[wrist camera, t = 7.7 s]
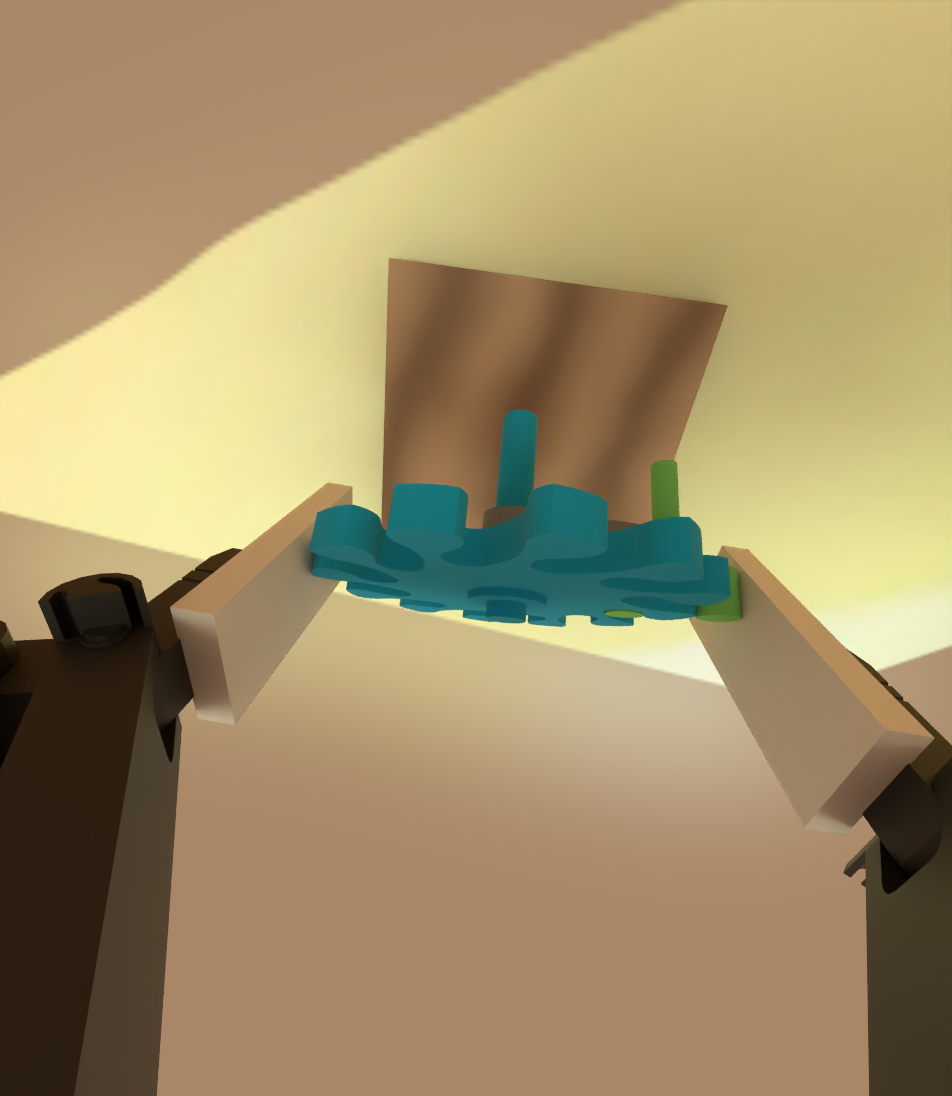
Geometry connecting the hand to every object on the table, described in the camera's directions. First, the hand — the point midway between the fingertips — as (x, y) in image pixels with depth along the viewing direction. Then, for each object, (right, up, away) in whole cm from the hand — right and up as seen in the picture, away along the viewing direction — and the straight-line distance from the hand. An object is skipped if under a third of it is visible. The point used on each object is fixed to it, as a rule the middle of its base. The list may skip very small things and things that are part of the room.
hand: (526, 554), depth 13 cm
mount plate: (+2, +8, +15) cm, 17 cm away
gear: (0, +1, +1) cm, 2 cm away
